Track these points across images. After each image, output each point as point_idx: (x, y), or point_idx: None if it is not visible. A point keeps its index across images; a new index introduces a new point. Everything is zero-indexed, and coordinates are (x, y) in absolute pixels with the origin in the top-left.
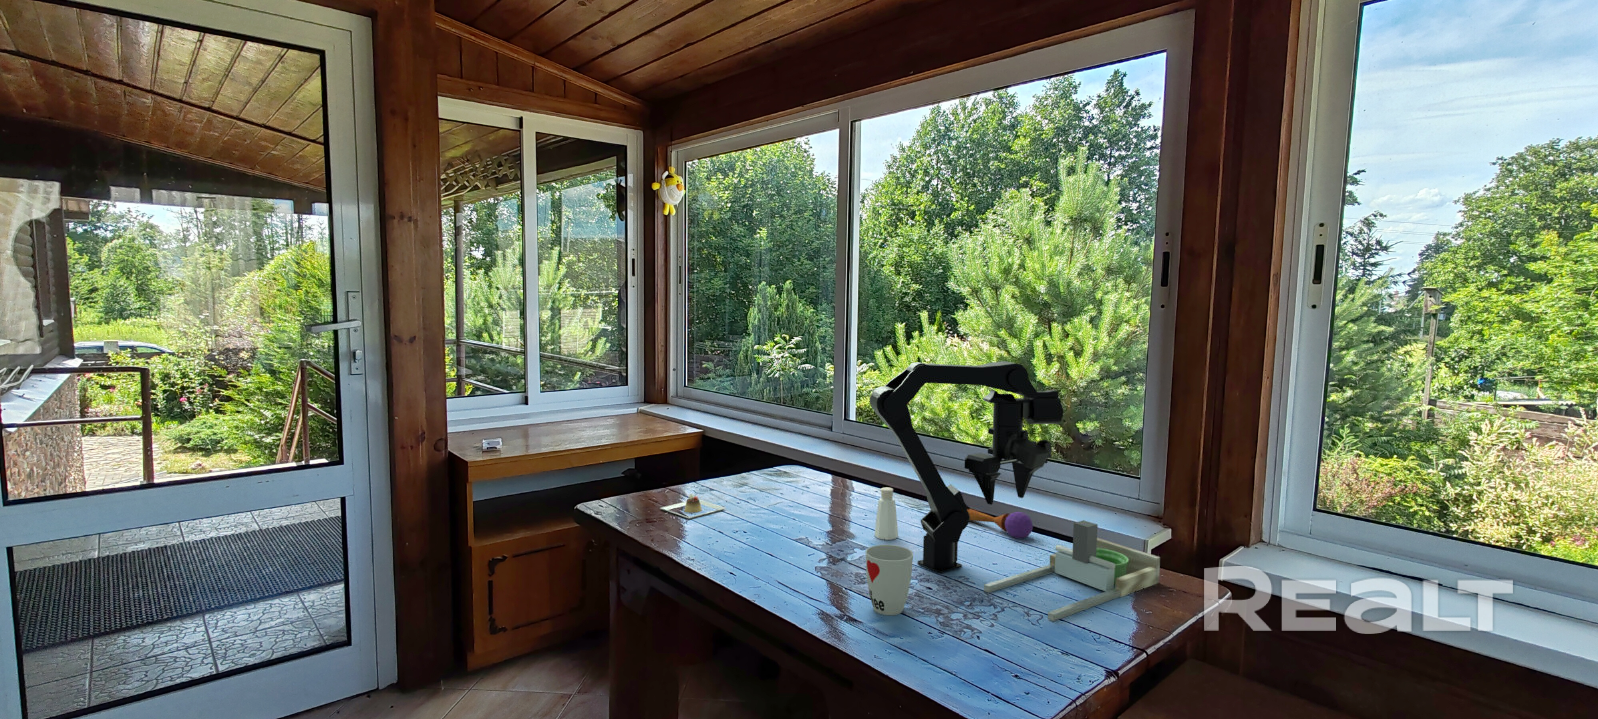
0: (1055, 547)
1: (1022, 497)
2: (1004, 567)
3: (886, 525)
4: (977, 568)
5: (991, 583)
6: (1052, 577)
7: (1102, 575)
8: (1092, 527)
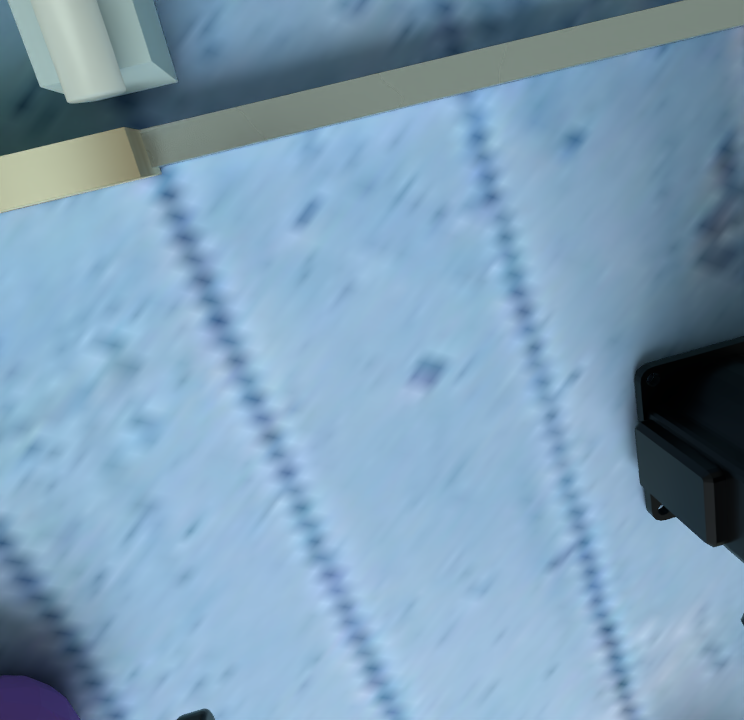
0: (123, 88)
1: (200, 710)
2: (412, 304)
3: None
4: (564, 336)
5: (741, 9)
6: (224, 51)
7: None
8: None
